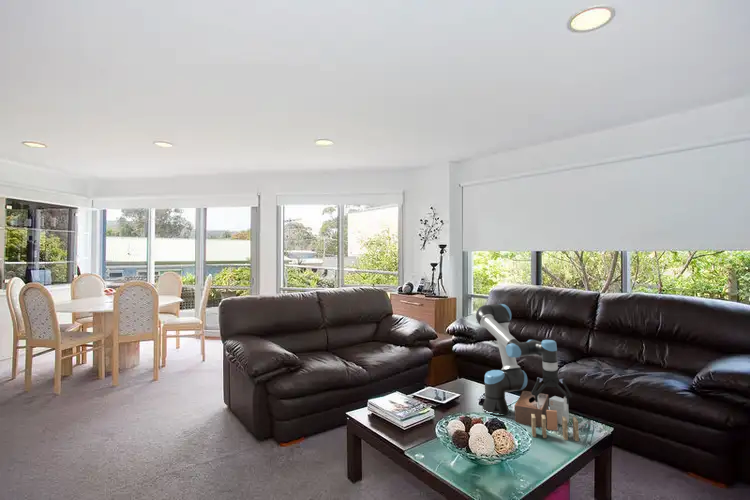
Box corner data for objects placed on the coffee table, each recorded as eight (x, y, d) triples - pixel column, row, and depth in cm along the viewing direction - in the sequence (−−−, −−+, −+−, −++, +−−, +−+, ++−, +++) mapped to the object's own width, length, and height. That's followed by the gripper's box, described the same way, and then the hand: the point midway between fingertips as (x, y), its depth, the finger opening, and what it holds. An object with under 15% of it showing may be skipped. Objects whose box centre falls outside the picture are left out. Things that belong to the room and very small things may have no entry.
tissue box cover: (542, 428, 215) (541, 409, 215) (515, 422, 222) (514, 405, 222) (548, 411, 237) (548, 394, 237) (523, 406, 244) (523, 390, 244)
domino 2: (543, 437, 203) (542, 418, 203) (542, 433, 208) (541, 414, 208) (546, 438, 202) (545, 418, 202) (545, 433, 207) (544, 414, 207)
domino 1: (532, 436, 204) (532, 417, 204) (531, 432, 209) (531, 413, 209) (536, 437, 204) (535, 417, 204) (535, 432, 209) (534, 414, 209)
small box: (569, 422, 220) (568, 399, 220) (563, 426, 216) (563, 402, 216) (554, 418, 226) (554, 395, 226) (549, 421, 222) (548, 398, 222)
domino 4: (575, 441, 199) (574, 421, 199) (573, 436, 203) (572, 417, 204) (578, 441, 198) (578, 421, 198) (576, 436, 203) (576, 417, 203)
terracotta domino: (547, 428, 214) (546, 409, 214) (557, 429, 212) (556, 410, 212) (547, 429, 212) (546, 410, 212) (557, 430, 211) (556, 411, 211)
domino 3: (564, 439, 200) (563, 420, 200) (562, 435, 205) (562, 416, 205) (567, 440, 200) (567, 420, 200) (566, 435, 204) (565, 416, 204)
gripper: (526, 370, 213) (528, 409, 212) (577, 372, 205) (579, 413, 205) (525, 366, 220) (526, 404, 219) (574, 368, 213) (576, 407, 212)
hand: (552, 408), depth 212 cm, fingers open, 13 cm apart
